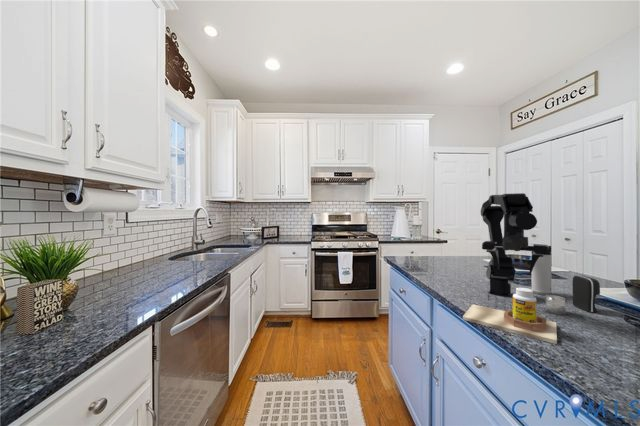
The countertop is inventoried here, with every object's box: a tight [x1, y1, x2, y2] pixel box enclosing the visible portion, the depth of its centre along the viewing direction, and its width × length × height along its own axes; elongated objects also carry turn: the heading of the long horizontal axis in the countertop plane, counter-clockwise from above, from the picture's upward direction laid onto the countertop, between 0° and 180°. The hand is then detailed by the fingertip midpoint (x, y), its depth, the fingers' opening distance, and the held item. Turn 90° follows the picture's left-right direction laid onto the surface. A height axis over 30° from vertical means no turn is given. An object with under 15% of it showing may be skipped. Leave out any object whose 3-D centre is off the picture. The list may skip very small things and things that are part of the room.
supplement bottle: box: [512, 287, 538, 323], centre depth 75 cm, size 6×6×10 cm
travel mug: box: [531, 245, 552, 297], centre depth 104 cm, size 6×7×20 cm
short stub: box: [545, 294, 567, 316], centre depth 85 cm, size 5×5×5 cm
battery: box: [572, 275, 601, 313], centre depth 87 cm, size 7×4×11 cm, turn 172°
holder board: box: [462, 303, 558, 345], centre depth 78 cm, size 22×14×3 cm, turn 47°
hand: (513, 271), depth 90 cm, fingers open, 9 cm apart
